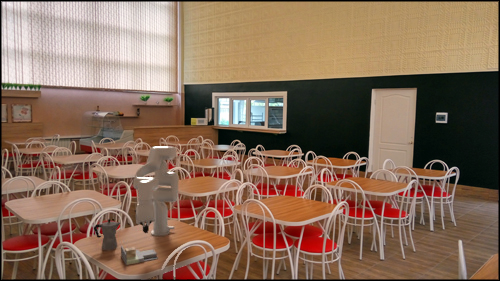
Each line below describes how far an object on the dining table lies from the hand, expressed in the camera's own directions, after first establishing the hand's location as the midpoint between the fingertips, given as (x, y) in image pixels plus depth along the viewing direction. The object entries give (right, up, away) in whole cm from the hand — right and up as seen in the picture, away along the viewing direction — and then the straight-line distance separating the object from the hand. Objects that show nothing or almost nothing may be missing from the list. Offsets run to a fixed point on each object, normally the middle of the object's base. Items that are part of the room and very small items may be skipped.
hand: (145, 232), depth 215 cm
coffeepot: (-27, -13, +12) cm, 32 cm away
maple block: (-8, -12, -4) cm, 15 cm away
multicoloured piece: (-3, -14, -1) cm, 15 cm away
